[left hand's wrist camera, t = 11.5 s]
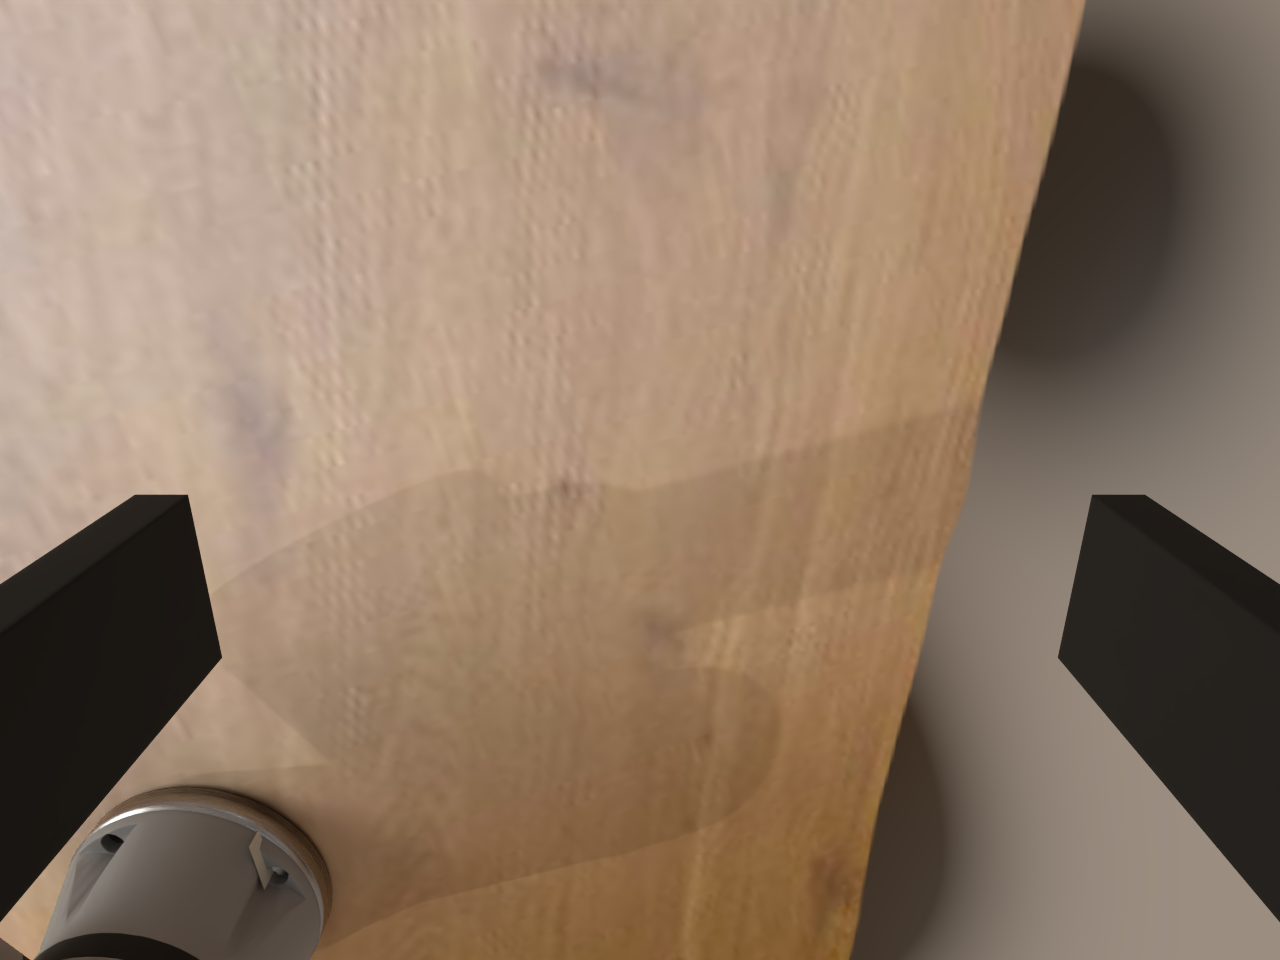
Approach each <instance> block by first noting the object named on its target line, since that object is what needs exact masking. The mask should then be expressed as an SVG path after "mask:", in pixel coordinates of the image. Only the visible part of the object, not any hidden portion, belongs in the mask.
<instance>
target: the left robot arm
mask: <svg viewBox="0 0 1280 960" xmlns="http://www.w3.org/2000/svg"><path fill="white" fill-rule="evenodd" d="M221 658H222V655H221V650H220V645H219V641H218V636H217V631H216V626H215V622H214V617H213V612H212V607H211V603H210V598H209V593H208V588H207V584H206V579H205V574H204V569H203V564H202V560H201V555H200V550H199V545H198V541H197V536H196V531H195V526H194V522H193V517H192V512H191V507H190V503H189V498H188V495H134V496H133V497H131V498H130V499H128V500H127V501H125V502H124V503H122V504H120V505H119V506H117V507H116V508H114V509H113V510H111V511H110V512H108V513H107V514H105V515H104V516H102V517H101V518H99V519H98V520H96V521H95V522H93V523H92V524H90V525H89V526H87V527H86V528H84V529H83V530H81V531H80V532H78V533H77V534H75V535H74V536H72V537H71V538H69V539H68V540H66V541H65V542H63V543H62V544H60V545H59V546H57V547H56V548H54V549H53V550H51V551H50V552H48V553H47V554H45V555H44V556H42V557H41V558H39V559H38V560H36V561H35V562H33V563H32V564H30V565H29V566H27V567H26V568H24V569H23V570H21V571H20V572H18V573H17V574H15V575H14V576H12V577H11V578H9V579H8V580H6V581H5V582H3V583H2V584H0V922H1V920H2V919H3V918H4V917H5V916H6V915H7V913H8V912H9V911H10V910H11V909H12V907H13V906H14V905H15V904H16V903H17V901H18V900H19V899H20V898H21V897H22V895H23V894H24V893H25V892H26V891H27V889H28V888H29V887H30V886H31V885H32V884H33V882H34V881H35V880H36V879H37V878H38V876H39V875H40V874H41V873H42V872H43V870H44V869H45V868H46V867H47V866H48V864H49V863H50V862H51V861H52V860H53V859H54V857H55V856H56V855H57V854H58V853H59V851H60V850H61V849H62V848H63V847H64V845H65V844H66V843H67V842H68V841H69V839H70V838H71V837H72V836H73V835H74V833H75V832H76V831H77V830H78V829H79V828H80V826H81V825H82V824H83V823H84V822H85V820H86V819H87V818H88V817H89V816H90V814H91V813H92V812H93V811H94V810H95V808H96V807H97V806H98V805H99V804H100V802H101V801H102V800H103V799H104V798H105V797H106V795H107V794H108V793H109V792H110V791H111V789H112V788H113V787H114V786H115V785H116V783H117V782H118V781H119V780H120V779H121V777H122V776H123V775H124V774H125V773H126V771H127V770H128V769H129V768H130V767H131V766H132V764H133V763H134V762H135V761H136V760H137V758H138V757H139V756H140V755H141V754H142V752H143V751H144V750H145V749H146V748H147V746H148V745H149V744H150V743H151V742H152V740H153V739H154V738H155V737H156V736H157V735H158V733H159V732H160V731H161V730H162V729H163V727H164V726H165V725H166V724H167V723H168V721H169V720H170V719H171V718H172V717H173V715H174V714H175V713H176V712H177V711H178V709H179V708H180V707H181V706H182V705H183V704H184V702H185V701H186V700H187V699H188V698H189V696H190V695H191V694H192V693H193V692H194V690H195V689H196V688H197V687H198V686H199V684H200V683H201V682H202V681H203V680H204V678H205V677H206V676H207V675H208V674H209V673H210V671H211V670H212V669H213V668H214V667H215V665H216V664H217V663H218V662H219V661H220V659H221ZM1058 658H1059V659H1060V661H1061V662H1062V663H1063V664H1064V665H1065V667H1066V668H1067V669H1068V670H1069V671H1070V673H1071V674H1072V675H1073V676H1074V677H1075V678H1076V680H1077V681H1078V682H1079V683H1080V684H1081V686H1082V687H1083V688H1084V689H1085V690H1086V692H1087V693H1088V694H1089V695H1090V696H1091V698H1092V699H1093V700H1094V701H1095V702H1096V703H1097V705H1098V706H1099V707H1100V708H1101V709H1102V711H1103V712H1104V713H1105V714H1106V715H1107V717H1108V718H1109V719H1110V720H1111V721H1112V723H1113V724H1114V725H1115V726H1116V727H1117V729H1118V730H1119V731H1120V732H1121V733H1122V735H1123V736H1124V737H1125V738H1126V739H1127V740H1128V742H1129V743H1130V744H1131V745H1132V746H1133V748H1134V749H1135V750H1136V751H1137V752H1138V754H1139V755H1140V756H1141V757H1142V758H1143V760H1144V761H1145V762H1146V763H1147V764H1148V766H1149V767H1150V768H1151V769H1152V770H1153V771H1154V773H1155V774H1156V775H1157V776H1158V777H1159V779H1160V780H1161V781H1162V782H1163V783H1164V785H1165V786H1166V787H1167V788H1168V789H1169V791H1170V792H1171V793H1172V794H1173V795H1174V797H1175V798H1176V799H1177V800H1178V801H1179V802H1180V804H1181V805H1182V806H1183V807H1184V808H1185V810H1186V811H1187V812H1188V813H1189V814H1190V815H1191V817H1192V818H1193V819H1194V820H1195V822H1196V823H1197V824H1198V825H1199V826H1200V828H1201V829H1202V830H1203V831H1204V832H1205V833H1206V835H1207V836H1208V837H1209V838H1210V839H1211V841H1212V842H1213V843H1214V844H1215V845H1216V847H1217V848H1218V849H1219V850H1220V851H1221V853H1222V854H1223V855H1224V856H1225V857H1226V859H1227V860H1228V861H1229V862H1230V863H1231V864H1232V866H1233V867H1234V868H1235V869H1236V870H1237V872H1238V873H1239V874H1240V875H1241V876H1242V878H1243V879H1244V880H1245V881H1246V882H1247V884H1248V885H1249V886H1250V887H1251V888H1252V889H1253V891H1254V892H1255V893H1256V894H1257V895H1258V897H1259V898H1260V899H1261V900H1262V901H1263V903H1264V904H1265V905H1266V906H1267V907H1268V909H1269V910H1270V911H1271V912H1272V913H1273V915H1274V916H1275V917H1276V918H1277V919H1278V920H1279V922H1280V584H1278V583H1277V582H1275V581H1274V580H1272V579H1271V578H1269V577H1268V576H1266V575H1265V574H1263V573H1262V572H1260V571H1259V570H1257V569H1256V568H1254V567H1253V566H1251V565H1250V564H1248V563H1247V562H1245V561H1244V560H1242V559H1241V558H1239V557H1238V556H1236V555H1235V554H1233V553H1232V552H1230V551H1229V550H1227V549H1226V548H1224V547H1223V546H1221V545H1220V544H1218V543H1217V542H1215V541H1214V540H1212V539H1211V538H1209V537H1208V536H1206V535H1205V534H1203V533H1202V532H1200V531H1199V530H1197V529H1196V528H1194V527H1193V526H1191V525H1190V524H1188V523H1187V522H1185V521H1184V520H1182V519H1181V518H1179V517H1178V516H1176V515H1175V514H1173V513H1172V512H1170V511H1169V510H1167V509H1165V508H1164V507H1162V506H1161V505H1159V504H1158V503H1156V502H1155V501H1153V500H1152V499H1150V498H1149V497H1147V496H1146V495H1092V498H1091V503H1090V507H1089V512H1088V517H1087V522H1086V526H1085V531H1084V536H1083V541H1082V545H1081V550H1080V555H1079V560H1078V565H1077V569H1076V574H1075V579H1074V584H1073V588H1072V593H1071V598H1070V603H1069V607H1068V612H1067V617H1066V622H1065V626H1064V631H1063V636H1062V641H1061V645H1060V650H1059V655H1058ZM331 904H332V888H331V882H330V878H329V874H328V871H327V869H326V866H325V864H324V862H323V860H322V858H321V857H320V855H319V853H318V852H317V850H316V849H315V847H314V846H313V845H312V843H311V842H310V841H309V840H308V839H307V838H306V836H304V835H303V834H302V833H301V832H300V831H299V830H298V829H297V828H296V827H295V826H294V825H293V824H291V823H290V822H289V821H288V820H286V819H285V818H283V817H282V816H280V815H279V814H277V813H276V812H274V811H272V810H271V809H269V808H267V807H265V806H263V805H261V804H259V803H257V802H254V801H252V800H249V799H247V798H244V797H241V796H238V795H235V794H232V793H228V792H224V791H219V790H213V789H207V788H196V787H176V788H166V789H159V790H154V791H150V792H146V793H143V794H140V795H137V796H135V797H133V798H130V799H128V800H126V801H124V802H123V803H121V804H119V805H118V806H116V807H115V808H113V809H112V810H111V811H110V812H108V813H107V814H106V815H105V816H104V817H103V818H102V819H101V820H100V822H99V823H98V824H97V825H96V827H95V828H94V829H93V830H92V831H91V833H90V834H89V835H88V836H87V838H86V839H85V840H84V841H83V843H82V844H81V845H80V846H79V848H78V849H77V851H76V852H75V854H74V856H73V858H72V860H71V863H70V865H69V869H68V872H67V875H66V877H65V880H64V883H63V886H62V889H61V891H60V894H59V897H58V900H57V903H56V906H55V908H54V911H53V914H52V917H51V920H50V922H49V925H48V928H47V931H46V934H45V936H44V939H43V942H42V945H41V948H40V950H39V953H38V954H37V956H36V957H35V958H34V960H309V959H310V958H311V956H312V954H313V953H314V951H315V949H316V947H317V944H318V942H319V940H320V937H321V935H322V932H323V930H324V927H325V925H326V922H327V920H328V917H329V914H330V910H331ZM0 960H30V959H28V958H27V957H25V956H24V955H23V954H22V953H20V952H19V951H17V950H16V949H15V948H13V947H12V946H11V945H9V944H8V943H7V942H5V941H4V940H2V939H1V938H0Z"/></svg>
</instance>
